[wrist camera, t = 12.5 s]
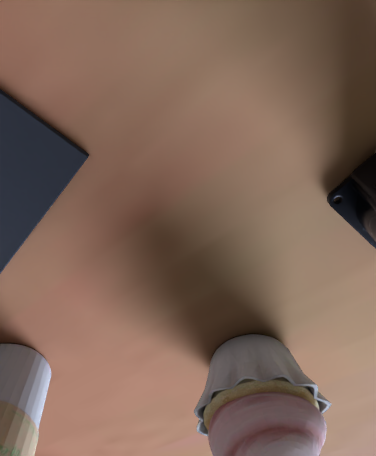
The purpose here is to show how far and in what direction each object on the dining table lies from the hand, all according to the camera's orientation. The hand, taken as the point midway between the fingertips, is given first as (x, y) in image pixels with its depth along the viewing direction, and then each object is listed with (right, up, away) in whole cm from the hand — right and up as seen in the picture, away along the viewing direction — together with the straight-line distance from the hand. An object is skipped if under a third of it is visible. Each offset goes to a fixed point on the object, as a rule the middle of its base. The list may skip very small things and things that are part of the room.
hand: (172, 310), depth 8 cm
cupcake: (+5, -9, +21) cm, 23 cm away
